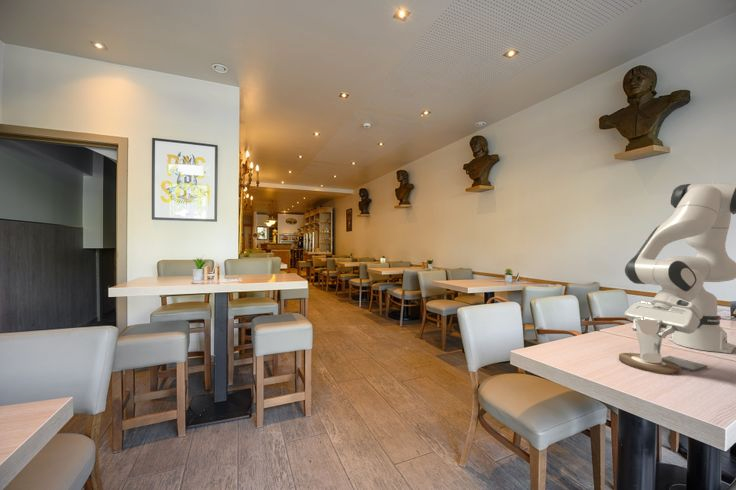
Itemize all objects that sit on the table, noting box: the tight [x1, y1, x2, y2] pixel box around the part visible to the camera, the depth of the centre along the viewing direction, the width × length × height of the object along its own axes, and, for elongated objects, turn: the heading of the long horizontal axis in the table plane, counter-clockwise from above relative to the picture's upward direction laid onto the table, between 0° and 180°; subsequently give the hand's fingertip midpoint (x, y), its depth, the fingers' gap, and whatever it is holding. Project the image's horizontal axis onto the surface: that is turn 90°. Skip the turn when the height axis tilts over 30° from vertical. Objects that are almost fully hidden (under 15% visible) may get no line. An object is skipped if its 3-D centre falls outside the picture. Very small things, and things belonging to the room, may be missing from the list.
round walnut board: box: [618, 352, 682, 376], centre depth 105 cm, size 16×16×2 cm
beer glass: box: [635, 317, 664, 364], centre depth 105 cm, size 7×7×15 cm
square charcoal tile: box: [661, 355, 708, 373], centre depth 106 cm, size 10×10×1 cm
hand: (647, 333), depth 105 cm, fingers open, 7 cm apart
